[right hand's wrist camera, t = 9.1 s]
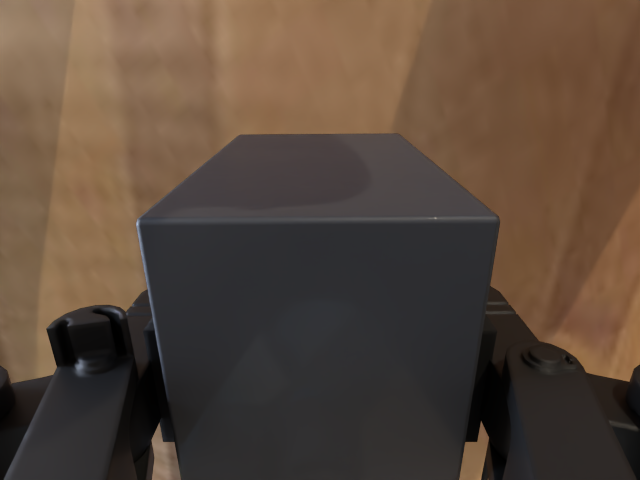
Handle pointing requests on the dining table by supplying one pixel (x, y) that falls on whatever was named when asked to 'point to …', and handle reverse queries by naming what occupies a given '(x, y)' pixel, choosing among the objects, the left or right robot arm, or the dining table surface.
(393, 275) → the beam
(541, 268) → the dining table surface
